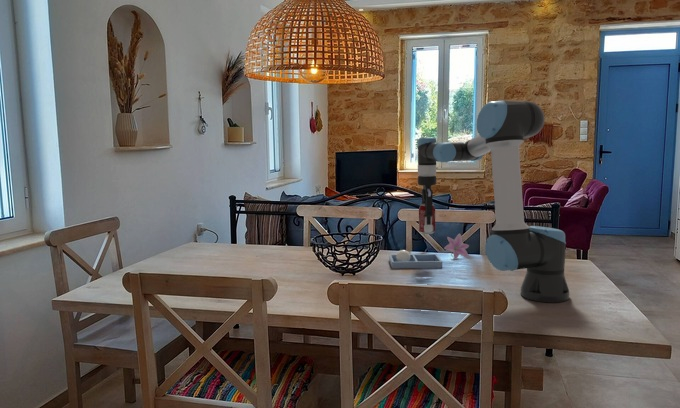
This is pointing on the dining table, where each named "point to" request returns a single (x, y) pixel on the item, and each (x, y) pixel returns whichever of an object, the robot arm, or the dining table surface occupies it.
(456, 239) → the lily
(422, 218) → the soda can
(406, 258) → the cream white ball
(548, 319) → the dining table surface
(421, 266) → the holder
